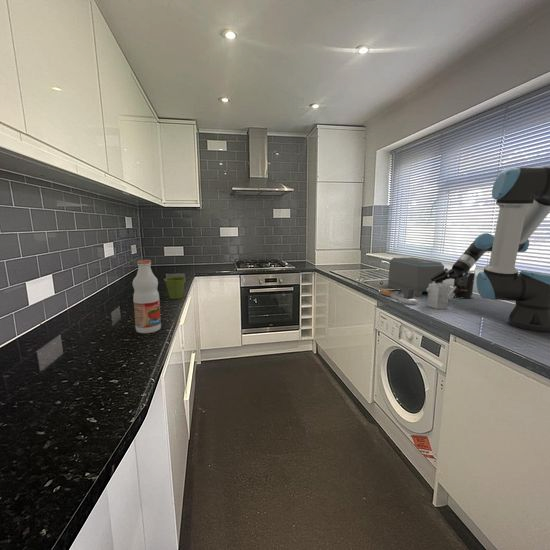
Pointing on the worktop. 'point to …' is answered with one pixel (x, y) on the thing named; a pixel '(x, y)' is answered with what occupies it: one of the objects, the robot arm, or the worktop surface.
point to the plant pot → (175, 287)
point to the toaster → (413, 274)
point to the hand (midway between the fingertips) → (437, 294)
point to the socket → (438, 295)
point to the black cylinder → (469, 288)
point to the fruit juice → (146, 299)
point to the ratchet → (404, 299)
